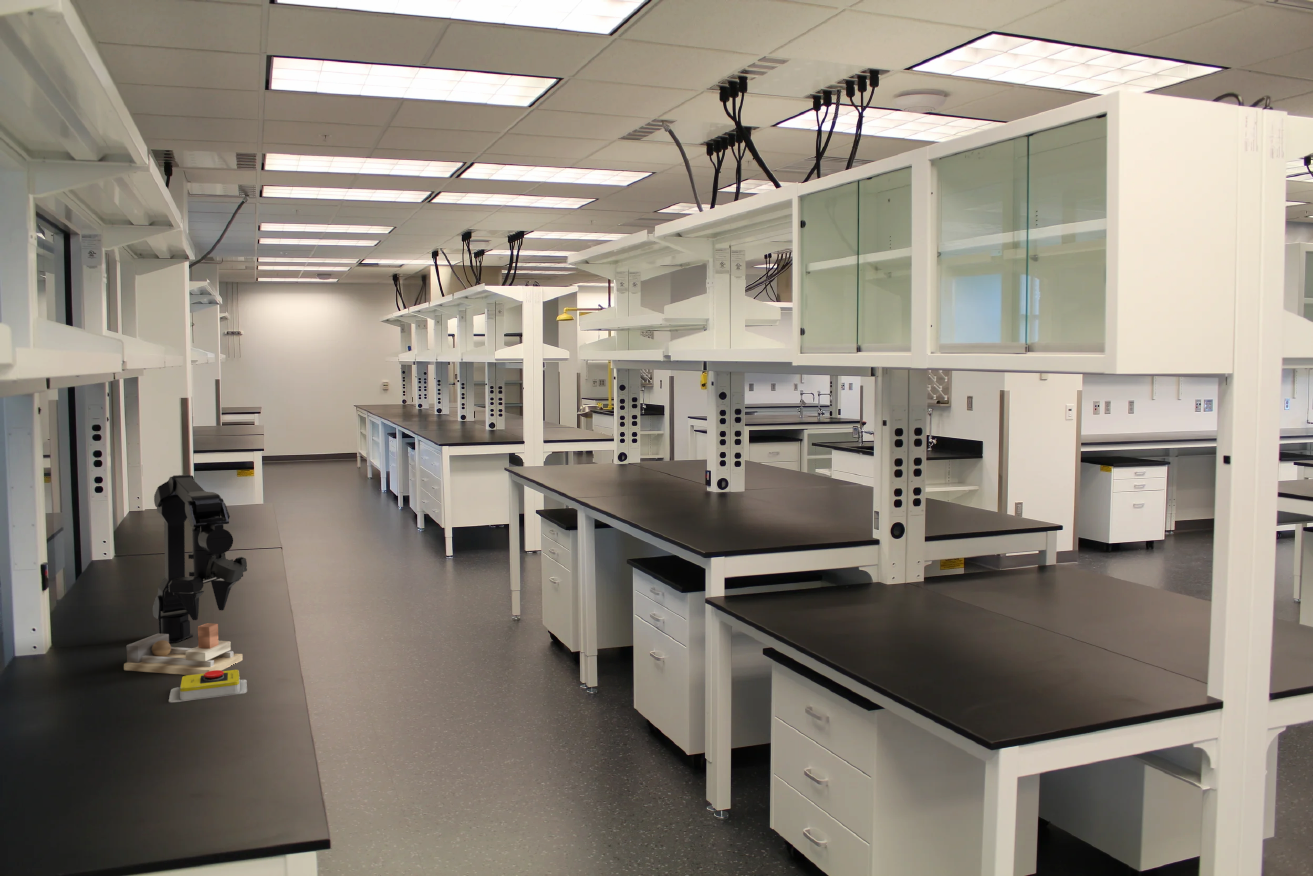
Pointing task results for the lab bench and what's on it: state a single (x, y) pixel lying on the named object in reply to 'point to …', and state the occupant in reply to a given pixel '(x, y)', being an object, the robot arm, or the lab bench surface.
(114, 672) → the lab bench surface
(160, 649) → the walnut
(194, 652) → the slider
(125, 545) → the lab bench surface
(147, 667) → the press bed
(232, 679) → the emergency button
